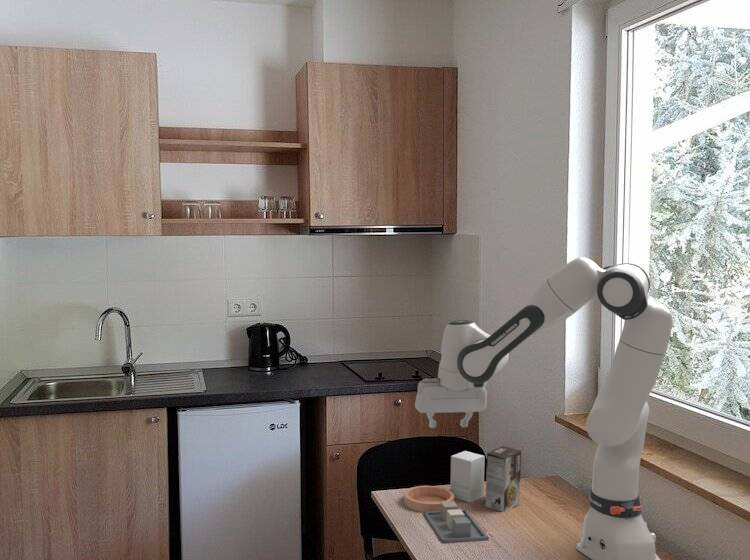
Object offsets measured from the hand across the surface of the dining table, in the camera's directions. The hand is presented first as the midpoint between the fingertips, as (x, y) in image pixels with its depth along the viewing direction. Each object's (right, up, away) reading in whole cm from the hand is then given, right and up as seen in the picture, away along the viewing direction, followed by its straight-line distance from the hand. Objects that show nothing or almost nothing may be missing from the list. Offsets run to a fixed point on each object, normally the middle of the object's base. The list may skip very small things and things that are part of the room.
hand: (448, 426), depth 216 cm
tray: (+1, -26, -7) cm, 27 cm away
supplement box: (+7, -24, +15) cm, 29 cm away
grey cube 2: (+2, -26, -13) cm, 29 cm away
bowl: (-5, -24, +9) cm, 26 cm away
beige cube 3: (+1, -25, -7) cm, 26 cm away
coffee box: (+16, -25, +9) cm, 31 cm away
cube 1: (0, -25, -2) cm, 25 cm away
